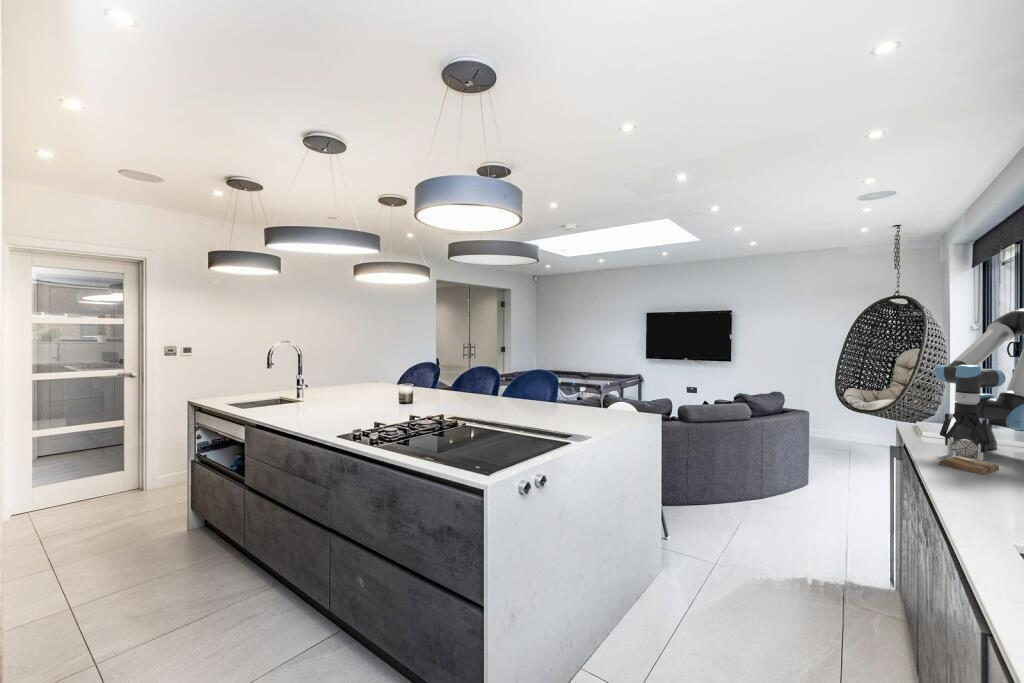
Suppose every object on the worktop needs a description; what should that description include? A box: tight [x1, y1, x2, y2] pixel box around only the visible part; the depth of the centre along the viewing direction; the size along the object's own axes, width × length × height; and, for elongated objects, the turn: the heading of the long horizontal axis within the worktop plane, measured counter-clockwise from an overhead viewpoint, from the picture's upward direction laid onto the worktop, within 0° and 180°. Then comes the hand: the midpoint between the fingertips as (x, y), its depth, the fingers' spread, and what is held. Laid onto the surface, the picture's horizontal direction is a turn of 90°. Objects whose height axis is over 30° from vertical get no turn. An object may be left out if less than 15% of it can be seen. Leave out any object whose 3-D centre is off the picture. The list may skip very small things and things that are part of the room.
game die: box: [952, 437, 978, 459], centre depth 204 cm, size 9×8×10 cm
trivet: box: [938, 455, 1000, 475], centre depth 192 cm, size 13×13×2 cm
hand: (964, 456), depth 204 cm, fingers open, 9 cm apart
